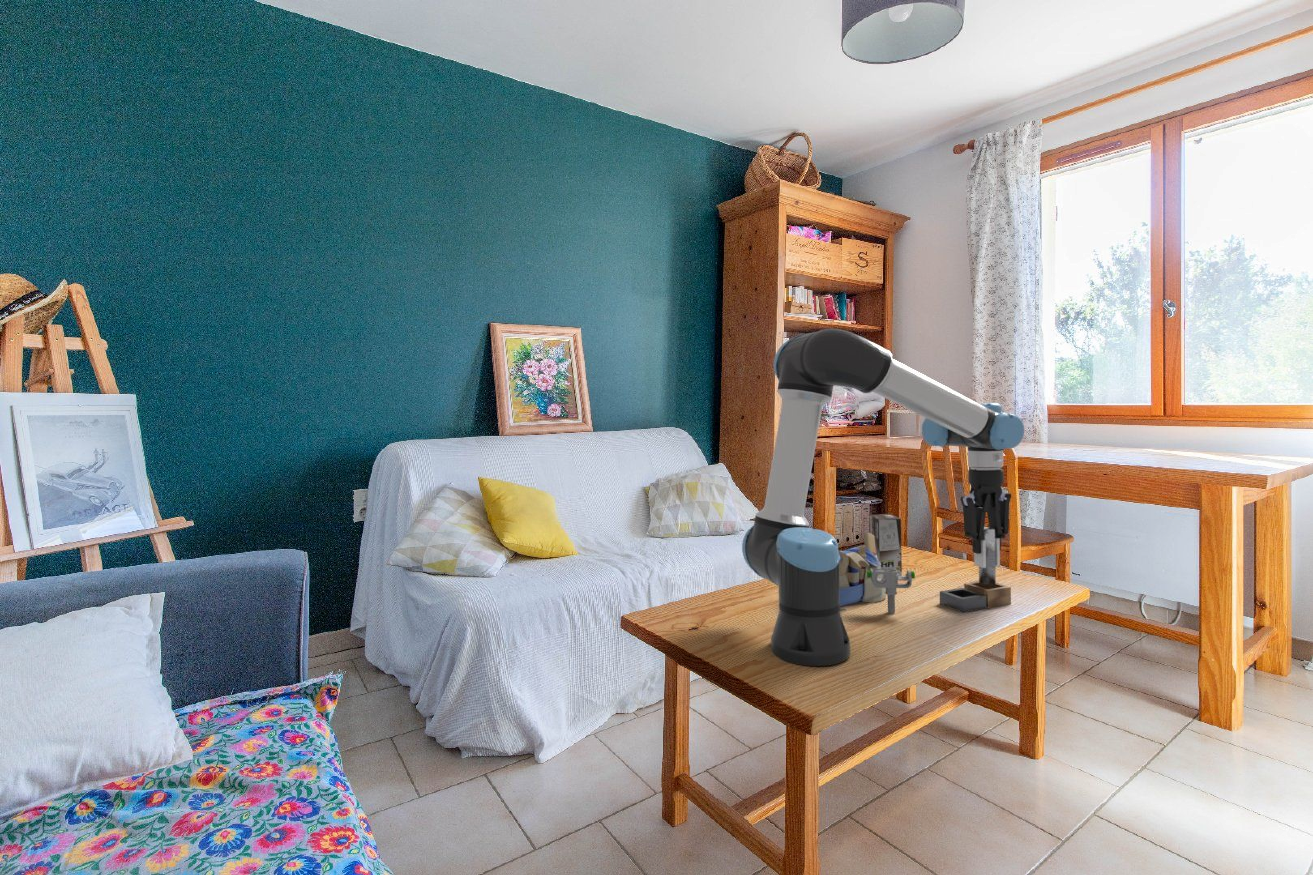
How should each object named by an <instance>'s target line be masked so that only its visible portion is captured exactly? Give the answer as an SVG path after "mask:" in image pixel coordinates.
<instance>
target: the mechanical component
mask: <svg viewBox="0 0 1313 875" xmlns="http://www.w3.org/2000/svg"><path fill="white" fill-rule="evenodd" d="M879 575H883V578H882V579H877V577H878V576H879ZM915 575H916V574H915V571H911V570H910V569H909V570H908V569H907V570H906V573H905V574H904V575H902V576H900V575H899V574H897V570H895V569H870V571H867V577H868V578H871V581H872V583H873V585H874V586H875V587H877V588H886V592H885V593H886V596H887V612H888V614H889V615H895V613H896V595H897V594H898V592H897V589H909V588H911V586H912V581H913V579H915V578H916V576H915ZM898 581H899V582H900V581H906V582H904V583H902V582H901V583H898Z"/></svg>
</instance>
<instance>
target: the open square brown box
mask: <svg viewBox="0 0 1313 875" xmlns="http://www.w3.org/2000/svg"><path fill="white" fill-rule="evenodd" d="M963 588H965V589H968V590H971V591H974V592H977V593H980V594H983V595H986V609H990V608H995V607H1000V606H1007V605H1011V604H1012V590H1011V588H1012V587H1011V586H1008V585H1006V584H1003V583H1002V584H1001V583H999V582H998V583H997V582H996V583H995V584H983V583H980V582H979V580H977V581H971V582H964V583H963Z"/></svg>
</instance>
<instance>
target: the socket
mask: <svg viewBox="0 0 1313 875" xmlns="http://www.w3.org/2000/svg"><path fill="white" fill-rule="evenodd" d="M939 604H940V605H942V606H945V607H948V608H950V609H952V610H955V611H958V612H961V613H967V612H972V611H978V610H983V609H984V610H985V609H987V607H986V595H983V594H980V593H977V592H974V591H971V590H968V589H965V588H964V587H959V588H953V589H946V590H940V591H939Z"/></svg>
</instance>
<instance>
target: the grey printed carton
mask: <svg viewBox="0 0 1313 875" xmlns="http://www.w3.org/2000/svg"><path fill="white" fill-rule="evenodd" d="M869 533H870V534H872V535H874V536H875V550H876V555H877V558H878V560H879V562H880V563H881V565H880V567H881V569H895V570H897V574H899V575H900V576H903V572H902V570H903V569H902V568H903V567H902V566H903V563H902V518H901V517H897V516H895V515H894V514H893V513H881V514H880V513H879V514H869Z"/></svg>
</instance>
